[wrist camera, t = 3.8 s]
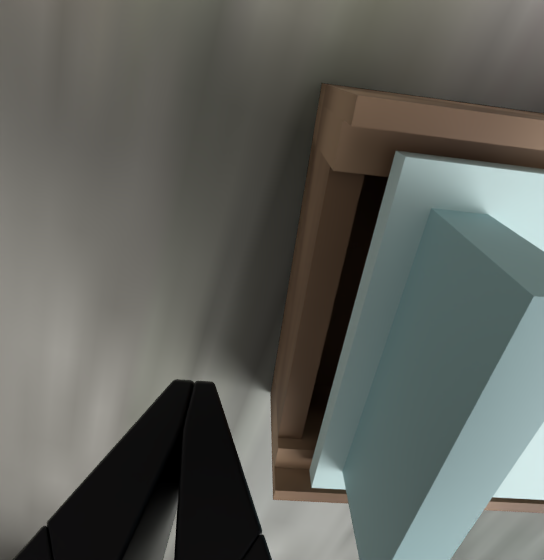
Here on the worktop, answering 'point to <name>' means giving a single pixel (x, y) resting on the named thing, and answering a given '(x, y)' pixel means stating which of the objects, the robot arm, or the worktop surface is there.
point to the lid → (441, 359)
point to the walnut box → (363, 246)
